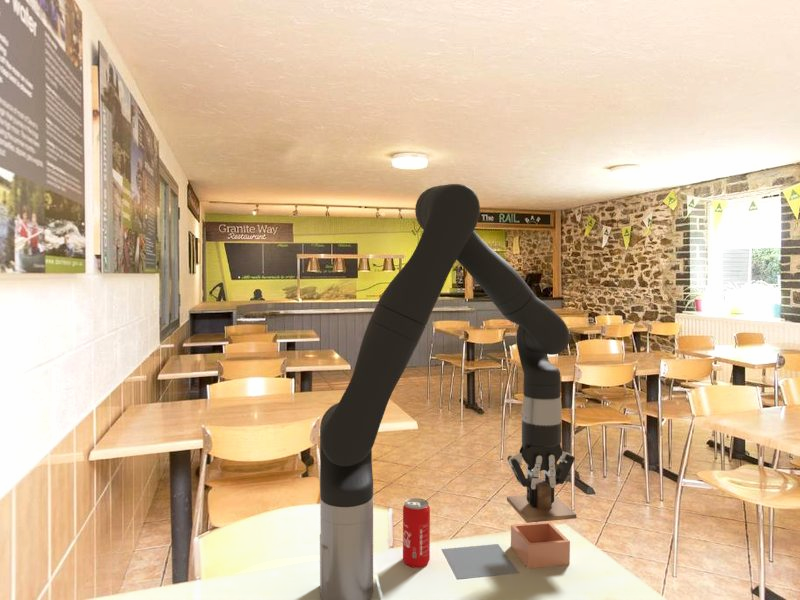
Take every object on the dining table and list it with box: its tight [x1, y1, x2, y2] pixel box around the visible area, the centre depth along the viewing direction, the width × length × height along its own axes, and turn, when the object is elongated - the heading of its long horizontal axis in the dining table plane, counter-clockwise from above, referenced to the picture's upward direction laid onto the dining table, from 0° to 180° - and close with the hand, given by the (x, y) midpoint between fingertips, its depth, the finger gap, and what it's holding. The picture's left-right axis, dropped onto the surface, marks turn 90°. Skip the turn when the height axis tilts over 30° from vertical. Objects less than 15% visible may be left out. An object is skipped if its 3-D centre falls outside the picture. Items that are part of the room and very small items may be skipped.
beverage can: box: [402, 497, 431, 569], centre depth 105 cm, size 5×5×12 cm
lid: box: [506, 478, 577, 524], centre depth 107 cm, size 10×10×5 cm
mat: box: [441, 543, 520, 580], centre depth 106 cm, size 12×11×1 cm
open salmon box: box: [510, 521, 571, 569], centre depth 108 cm, size 8×8×5 cm
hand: (540, 504), depth 107 cm, fingers closed on lid, 2 cm apart
